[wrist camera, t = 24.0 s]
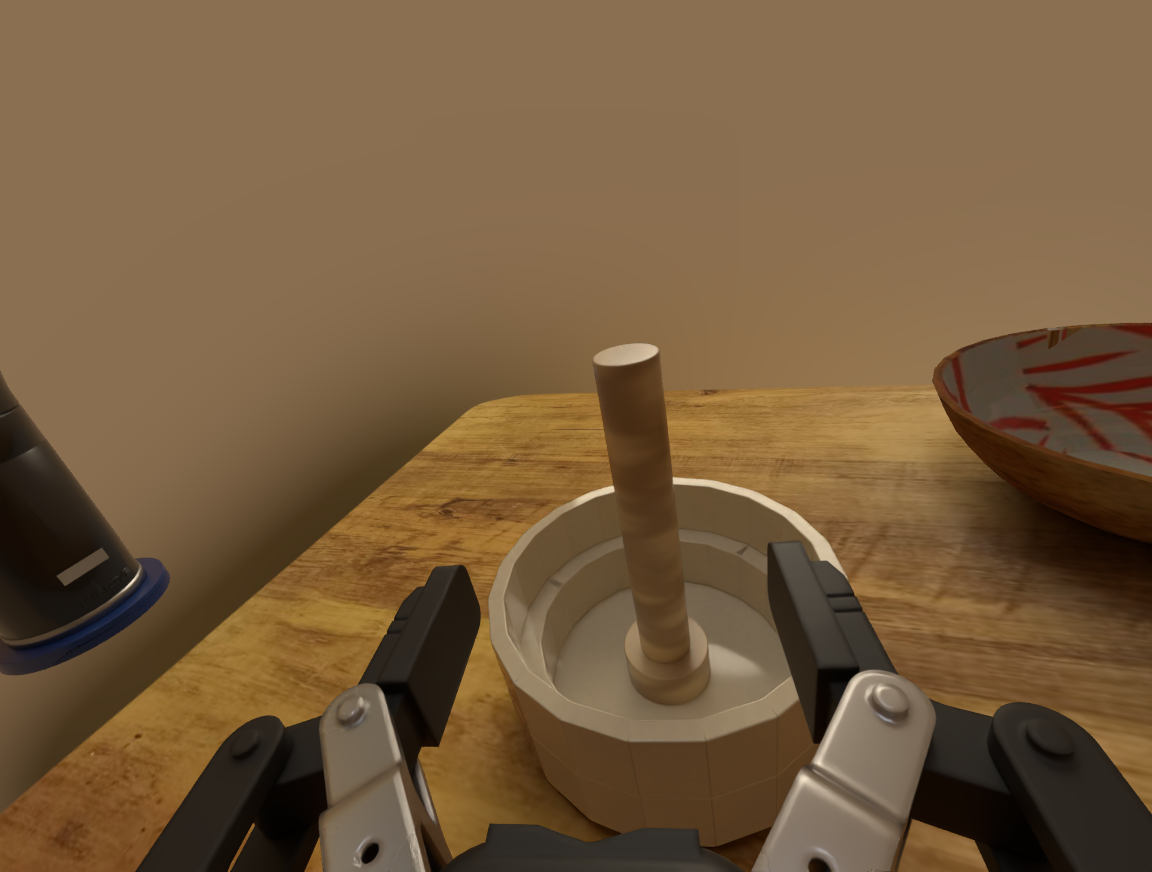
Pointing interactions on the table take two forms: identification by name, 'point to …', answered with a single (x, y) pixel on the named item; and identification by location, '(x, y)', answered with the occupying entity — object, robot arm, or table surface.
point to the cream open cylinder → (601, 678)
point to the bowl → (1062, 418)
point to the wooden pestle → (649, 527)
